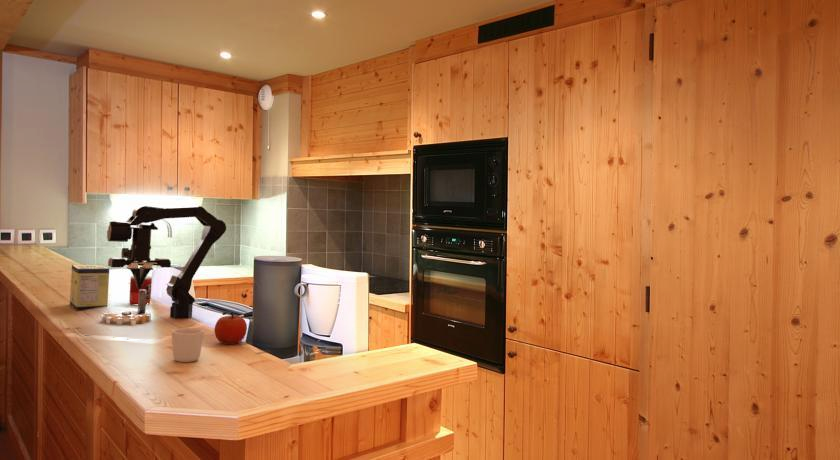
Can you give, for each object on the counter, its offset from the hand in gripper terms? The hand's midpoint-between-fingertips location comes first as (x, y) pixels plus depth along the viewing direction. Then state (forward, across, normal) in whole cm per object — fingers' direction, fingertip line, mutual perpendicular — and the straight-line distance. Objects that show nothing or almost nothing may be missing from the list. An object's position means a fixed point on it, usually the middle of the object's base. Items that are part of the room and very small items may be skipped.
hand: (138, 287), depth 199 cm
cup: (+12, +1, +54) cm, 56 cm away
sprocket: (+11, +4, +1) cm, 11 cm away
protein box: (+12, +8, -37) cm, 39 cm away
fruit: (+12, -16, +41) cm, 46 cm away
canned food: (+12, -12, -39) cm, 42 cm away
